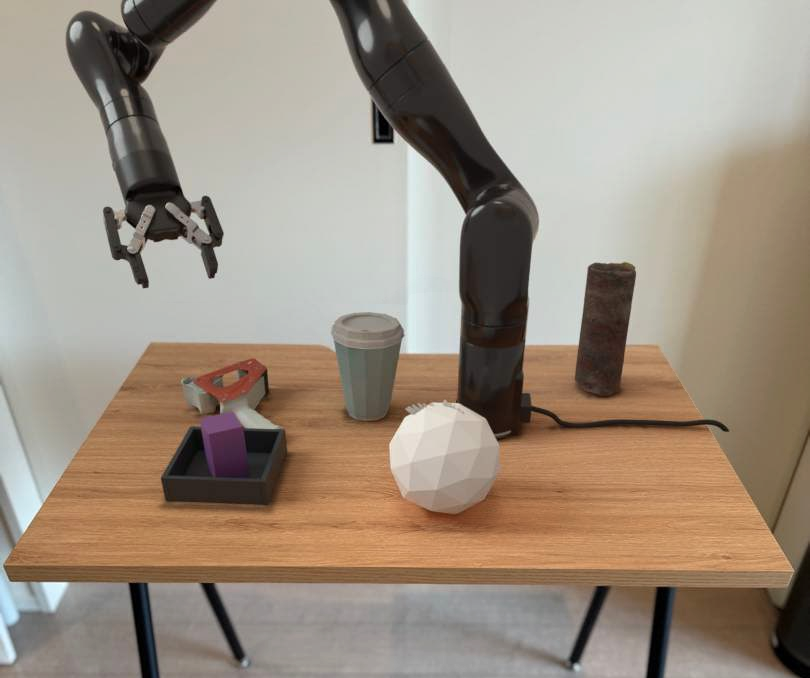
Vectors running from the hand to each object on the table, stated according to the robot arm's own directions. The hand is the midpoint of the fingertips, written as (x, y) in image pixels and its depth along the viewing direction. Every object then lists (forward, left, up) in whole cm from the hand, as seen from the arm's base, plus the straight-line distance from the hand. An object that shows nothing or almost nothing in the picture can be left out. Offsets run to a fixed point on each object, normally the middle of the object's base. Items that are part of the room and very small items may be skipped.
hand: (179, 280), depth 103 cm
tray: (-6, +10, -24) cm, 26 cm away
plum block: (-6, +10, -23) cm, 26 cm away
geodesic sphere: (-35, +14, -24) cm, 44 cm away
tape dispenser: (-3, -7, -24) cm, 25 cm away
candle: (-59, -21, -24) cm, 67 cm away
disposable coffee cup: (-23, -10, -24) cm, 35 cm away
